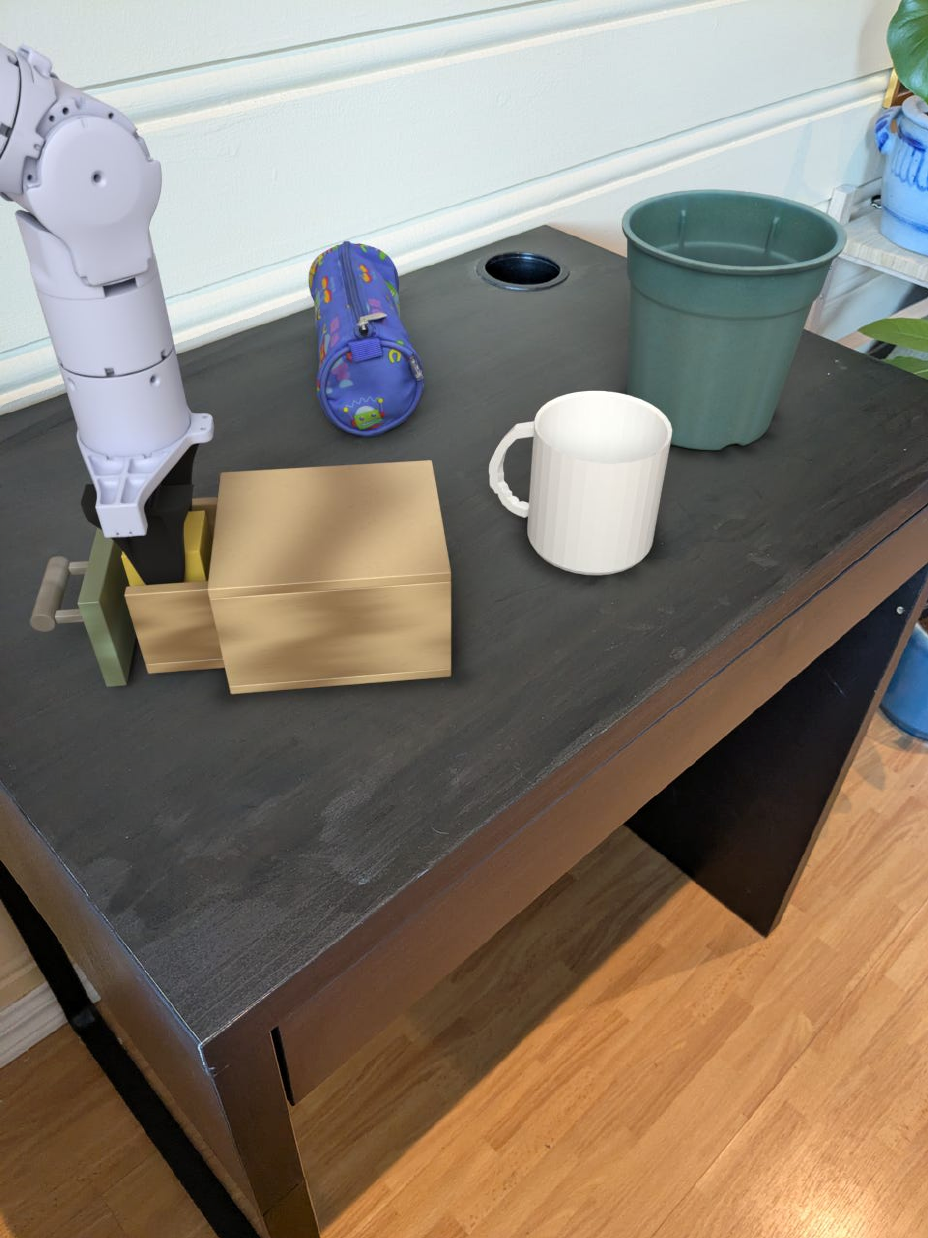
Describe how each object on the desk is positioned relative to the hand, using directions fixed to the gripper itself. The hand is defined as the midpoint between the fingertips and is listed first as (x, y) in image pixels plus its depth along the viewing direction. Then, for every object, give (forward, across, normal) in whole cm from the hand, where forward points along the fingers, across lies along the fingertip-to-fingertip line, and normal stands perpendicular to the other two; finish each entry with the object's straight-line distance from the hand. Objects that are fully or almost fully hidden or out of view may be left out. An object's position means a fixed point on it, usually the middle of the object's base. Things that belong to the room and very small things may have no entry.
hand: (170, 559), depth 58 cm
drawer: (+5, 0, 0) cm, 5 cm away
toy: (+1, 0, 0) cm, 1 cm away
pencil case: (+6, +32, -13) cm, 35 cm away
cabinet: (+6, 0, -10) cm, 12 cm away
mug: (+6, +8, -27) cm, 29 cm away
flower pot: (+6, +23, -41) cm, 47 cm away
